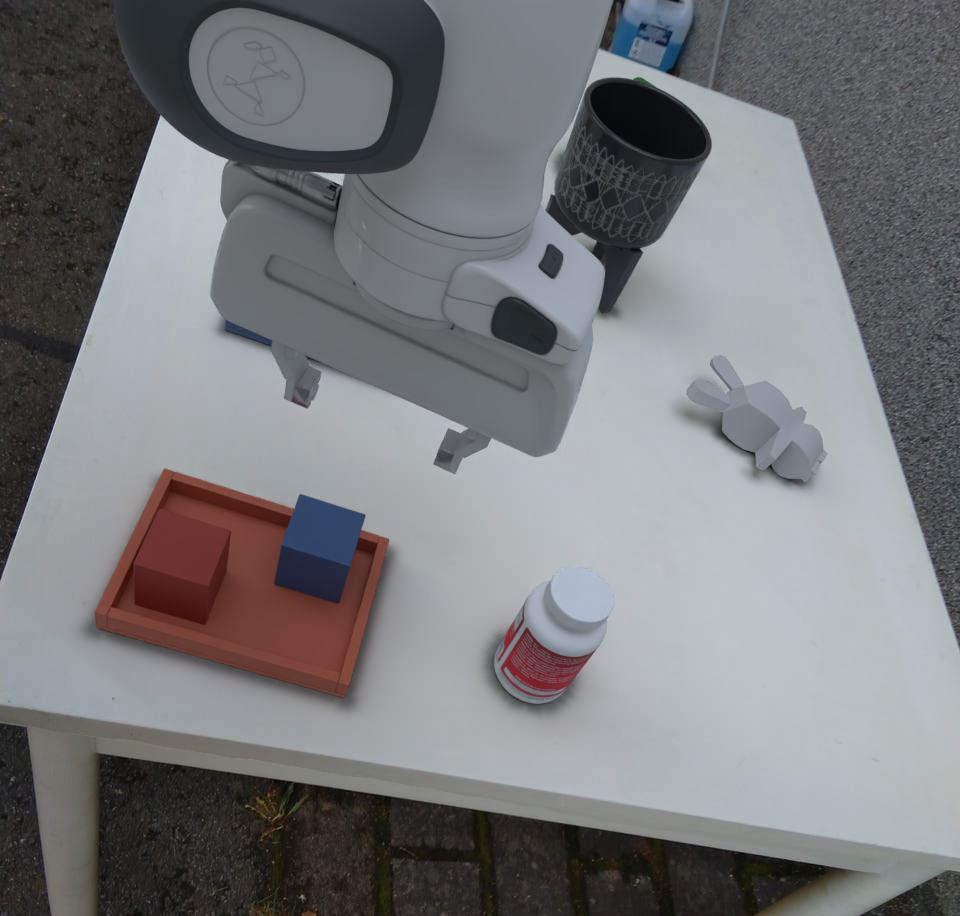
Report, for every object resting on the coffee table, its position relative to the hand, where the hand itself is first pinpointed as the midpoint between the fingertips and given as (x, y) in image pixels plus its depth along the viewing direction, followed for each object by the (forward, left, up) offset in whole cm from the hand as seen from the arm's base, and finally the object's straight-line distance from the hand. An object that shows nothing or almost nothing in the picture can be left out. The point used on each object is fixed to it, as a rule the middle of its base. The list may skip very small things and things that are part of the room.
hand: (374, 430), depth 55 cm
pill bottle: (+17, -1, -19) cm, 25 cm away
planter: (+16, +50, -19) cm, 56 cm away
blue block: (-1, +2, -18) cm, 18 cm away
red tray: (-5, -1, -18) cm, 19 cm away
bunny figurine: (+36, +34, -19) cm, 53 cm away
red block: (-10, -3, -18) cm, 21 cm away
